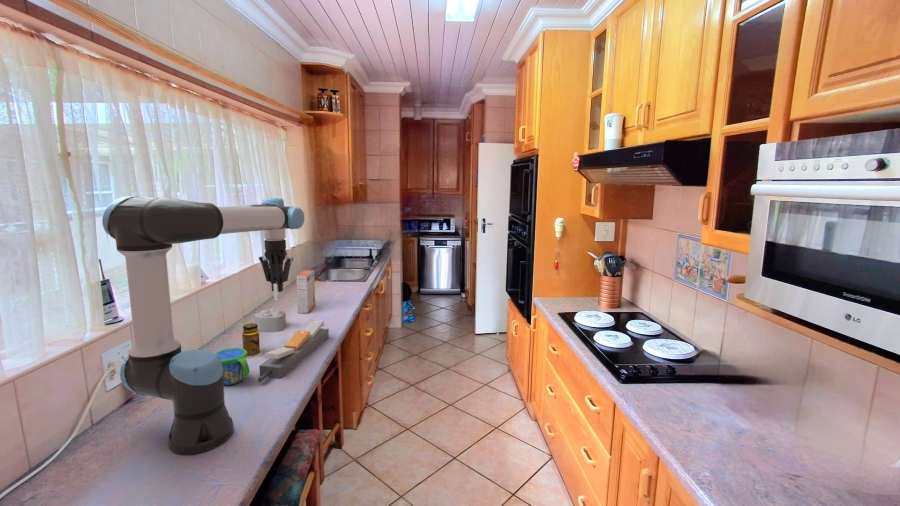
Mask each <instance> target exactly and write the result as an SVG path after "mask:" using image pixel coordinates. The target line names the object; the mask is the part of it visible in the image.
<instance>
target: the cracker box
mask: <svg viewBox="0 0 900 506" xmlns="http://www.w3.org/2000/svg"><path fill="white" fill-rule="evenodd" d="M295 277H296V298H297V301H296V302H297V313H298V314H309V313H310V312H311V311H312V310H313V309H314V308H315V307H316V287H315V269H304V270H302V271H301V272H300V273H298V274H297V275H296V276H295Z"/></svg>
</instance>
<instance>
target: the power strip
mask: <svg viewBox="0 0 900 506" xmlns="http://www.w3.org/2000/svg"><path fill="white" fill-rule="evenodd" d="M329 330H330V329H329V328H322V327H321V328H320V330H319V331H318V332H317V333H316V335H315V336H314V337H313V338H307V339H306V340H305V341H304V343H303V344H302V345H301V346H300V347H299V349H298V350H294V353H292V354H289V355H287V356H284V357H282V358H279V359H275V358H268V359H266V360H265V361H264V362H263V363H261V364H260V365H258V366H259V377H258V379H257V381H258V382H259V383H261V382H264V380H265V379H267V378H271V379H272V378H273V379H282V378H283V377H284V376H285V375H286V374H287V373H289V372H290V371H291V370H293V368H295V367H296V366H297V365H298V364H299V363H301V362H302V361H304V359H305V358H306V357H308V356H309V355H310V354H311V353H313V351H314V350H315V349H317V348H318V347H320V345H322V344H323V343H325V341H327V340H328V339H329V338H328V337H330V335H329Z"/></svg>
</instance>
